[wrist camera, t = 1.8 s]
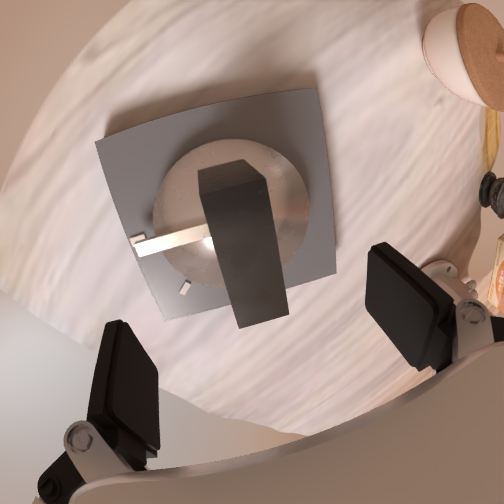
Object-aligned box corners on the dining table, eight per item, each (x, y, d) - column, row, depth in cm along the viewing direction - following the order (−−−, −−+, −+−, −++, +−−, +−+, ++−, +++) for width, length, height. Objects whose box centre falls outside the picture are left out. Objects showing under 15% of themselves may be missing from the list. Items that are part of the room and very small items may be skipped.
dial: (290, 124, 18) (342, 131, 12) (309, 257, 24) (350, 311, 17) (116, 169, 17) (77, 200, 11) (165, 296, 23) (160, 365, 16)
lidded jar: (427, -3, 15) (490, -14, 7) (476, 68, 19) (536, 75, 11) (389, 44, 18) (466, 33, 10) (447, 121, 22) (516, 139, 14)
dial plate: (306, 89, 19) (317, 87, 17) (327, 262, 27) (337, 274, 25) (103, 139, 18) (93, 142, 16) (166, 307, 25) (165, 322, 24)
